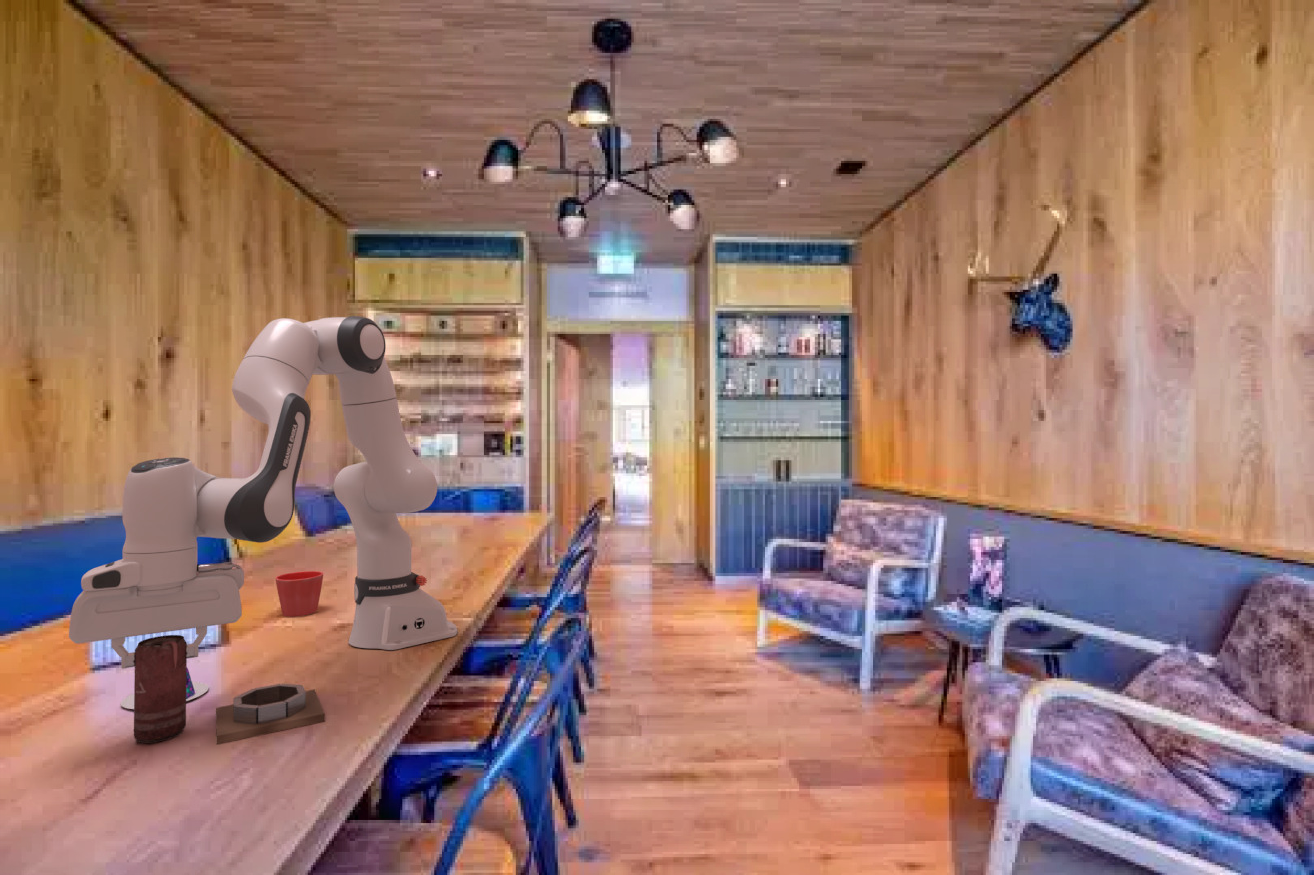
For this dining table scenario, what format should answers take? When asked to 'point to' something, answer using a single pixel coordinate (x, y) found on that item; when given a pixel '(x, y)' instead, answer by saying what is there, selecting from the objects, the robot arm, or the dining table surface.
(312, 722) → the holder board
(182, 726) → the can
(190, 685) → the patterned hat
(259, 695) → the ring
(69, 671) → the dining table surface
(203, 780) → the dining table surface
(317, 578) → the flower pot
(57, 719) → the dining table surface
